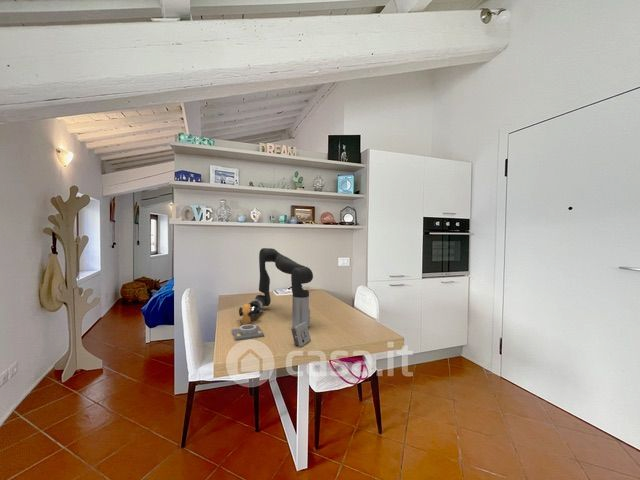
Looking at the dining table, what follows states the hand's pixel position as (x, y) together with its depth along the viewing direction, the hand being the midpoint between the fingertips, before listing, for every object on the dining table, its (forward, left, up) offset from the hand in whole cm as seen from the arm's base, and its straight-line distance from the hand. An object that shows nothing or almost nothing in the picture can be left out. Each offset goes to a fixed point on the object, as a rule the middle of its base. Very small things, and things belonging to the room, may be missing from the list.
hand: (244, 314), depth 153 cm
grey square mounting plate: (+1, +14, -6) cm, 15 cm away
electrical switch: (-20, +36, -6) cm, 41 cm away
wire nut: (-1, -2, -6) cm, 7 cm away
